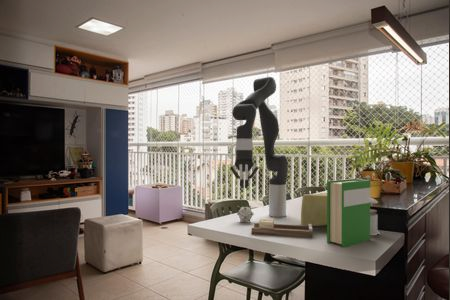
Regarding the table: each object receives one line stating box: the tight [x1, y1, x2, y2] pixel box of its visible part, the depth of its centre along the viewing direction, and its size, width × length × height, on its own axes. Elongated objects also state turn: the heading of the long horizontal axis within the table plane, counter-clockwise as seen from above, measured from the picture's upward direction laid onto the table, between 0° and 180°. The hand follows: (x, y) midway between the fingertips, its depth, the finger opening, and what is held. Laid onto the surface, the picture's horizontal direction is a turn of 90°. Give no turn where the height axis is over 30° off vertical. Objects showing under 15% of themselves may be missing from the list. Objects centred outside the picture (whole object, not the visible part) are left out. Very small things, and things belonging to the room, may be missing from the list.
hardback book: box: [326, 178, 371, 248], centre depth 125 cm, size 18×7×24 cm, turn 125°
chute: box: [250, 222, 314, 238], centre depth 137 cm, size 10×25×4 cm, turn 78°
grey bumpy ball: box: [236, 205, 254, 223], centre depth 158 cm, size 9×8×10 cm
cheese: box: [300, 192, 327, 227], centre depth 153 cm, size 22×10×15 cm, turn 110°
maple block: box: [258, 218, 275, 229], centre depth 139 cm, size 6×6×4 cm
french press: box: [365, 175, 381, 236], centre depth 140 cm, size 10×12×25 cm
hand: (244, 187), depth 141 cm, fingers closed
